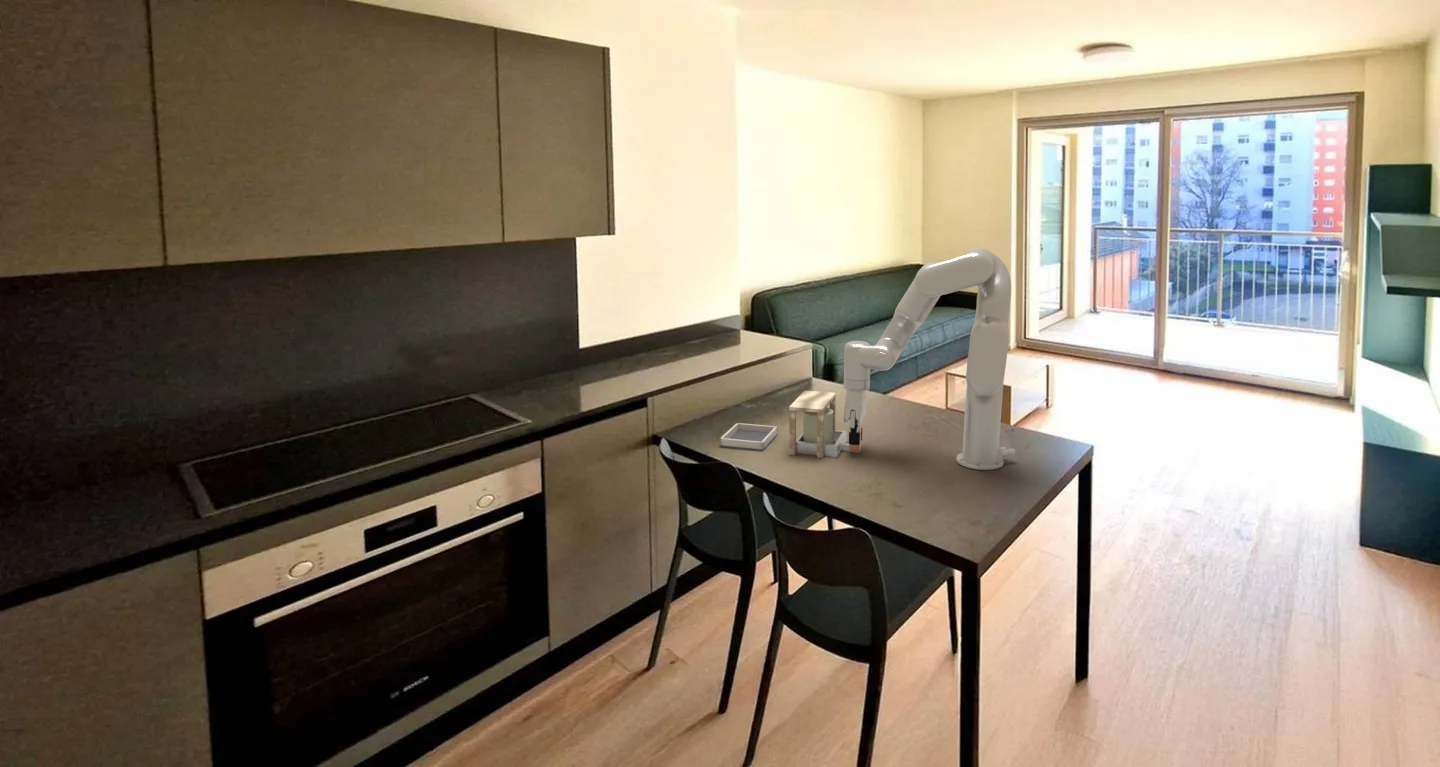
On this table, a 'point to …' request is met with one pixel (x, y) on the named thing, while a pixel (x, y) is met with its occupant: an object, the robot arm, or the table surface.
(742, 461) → the table surface
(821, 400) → the wooden stool
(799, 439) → the shallow grey tray
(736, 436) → the tray
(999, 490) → the table surface
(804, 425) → the can
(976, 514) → the table surface
